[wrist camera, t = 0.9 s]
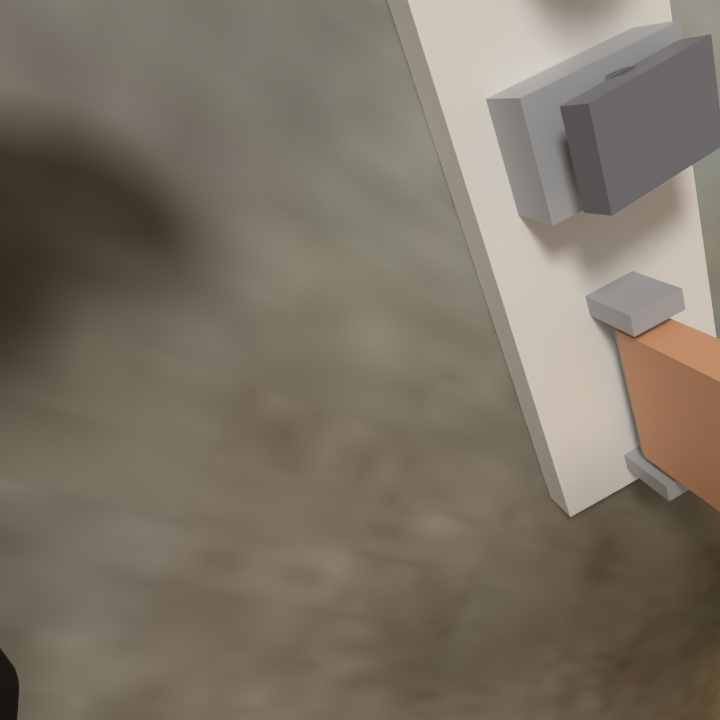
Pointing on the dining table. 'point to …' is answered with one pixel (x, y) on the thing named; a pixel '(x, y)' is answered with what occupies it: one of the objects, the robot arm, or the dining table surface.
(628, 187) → the rocker
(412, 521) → the dining table surface
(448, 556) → the dining table surface
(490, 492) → the dining table surface
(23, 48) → the dining table surface
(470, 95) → the switch console
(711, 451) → the paddle
